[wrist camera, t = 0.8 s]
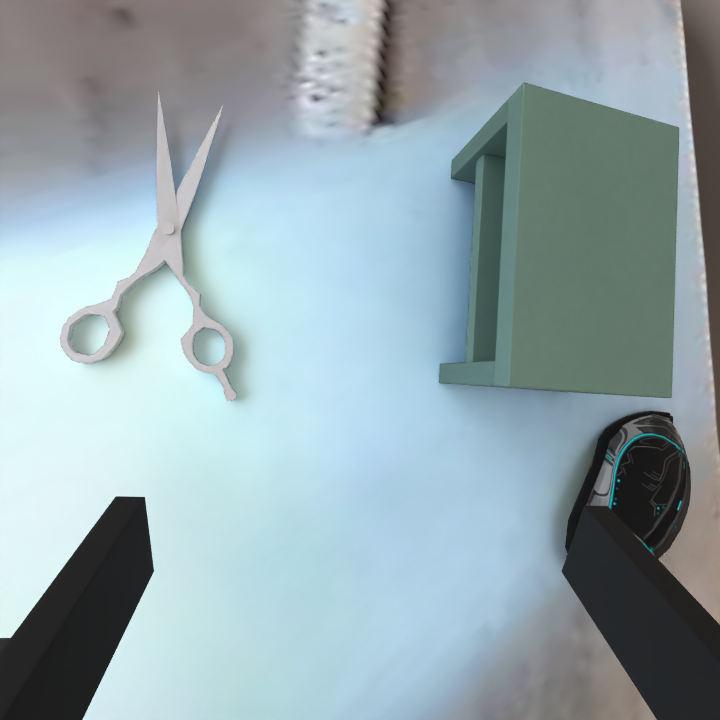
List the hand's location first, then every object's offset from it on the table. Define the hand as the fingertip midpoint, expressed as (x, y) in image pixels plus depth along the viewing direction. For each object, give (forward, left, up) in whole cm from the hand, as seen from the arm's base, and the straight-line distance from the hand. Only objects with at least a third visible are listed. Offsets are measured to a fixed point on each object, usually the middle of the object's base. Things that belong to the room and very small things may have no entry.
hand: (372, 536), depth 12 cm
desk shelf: (+14, -16, -17) cm, 27 cm away
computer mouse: (-3, -27, -17) cm, 32 cm away
